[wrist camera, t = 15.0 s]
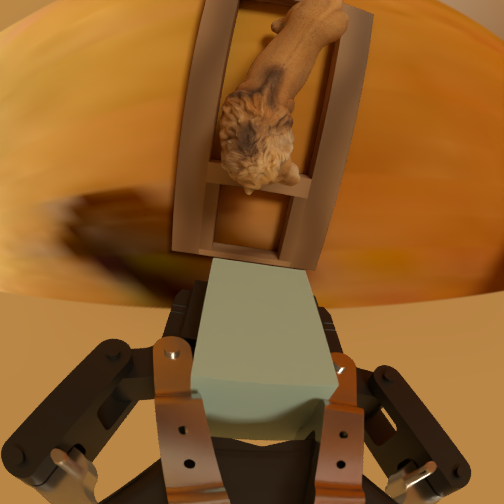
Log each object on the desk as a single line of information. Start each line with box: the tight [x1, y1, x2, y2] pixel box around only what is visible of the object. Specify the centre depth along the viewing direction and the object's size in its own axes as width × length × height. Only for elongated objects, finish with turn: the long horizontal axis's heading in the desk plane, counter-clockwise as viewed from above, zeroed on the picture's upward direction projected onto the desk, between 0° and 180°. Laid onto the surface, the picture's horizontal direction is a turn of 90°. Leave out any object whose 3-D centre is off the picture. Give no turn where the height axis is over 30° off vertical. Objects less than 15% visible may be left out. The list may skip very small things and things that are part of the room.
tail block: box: [191, 258, 339, 440], centre depth 10 cm, size 4×4×6 cm
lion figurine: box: [219, 0, 349, 195], centre depth 13 cm, size 15×5×9 cm, turn 161°
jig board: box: [172, 0, 374, 271], centre depth 18 cm, size 12×22×2 cm, turn 170°
